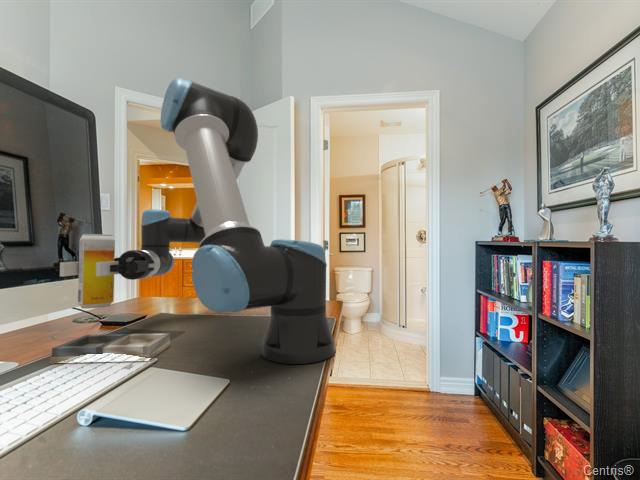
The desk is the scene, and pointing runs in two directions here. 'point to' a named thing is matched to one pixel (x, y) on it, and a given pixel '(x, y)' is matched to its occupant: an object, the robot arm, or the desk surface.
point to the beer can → (90, 286)
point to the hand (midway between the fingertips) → (80, 269)
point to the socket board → (112, 345)
